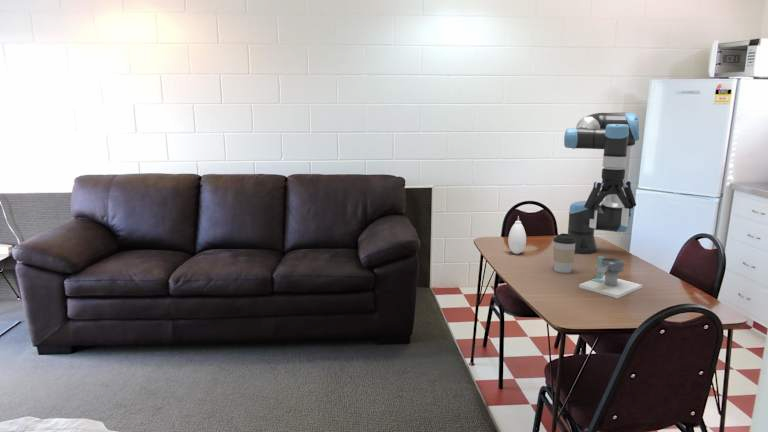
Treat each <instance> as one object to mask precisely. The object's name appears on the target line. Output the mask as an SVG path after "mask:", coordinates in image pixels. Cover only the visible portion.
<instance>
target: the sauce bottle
mask: <svg viewBox="0 0 768 432" xmlns="http://www.w3.org/2000/svg"><path fill="white" fill-rule="evenodd" d="M508 233H509V234H508V238H507V239H508V240H507V243H508V248H509V250H510V251H511V252H512V254H515V255H519V254H521V252H524V250H525V248H526V244H527V234H526V233H527V232H526V231H525V227H524V226H523V224H522V221H521V220H520V216H519V215H518V216H517V220H515V222H514V224H513V225H512V226H511V228H510V231H509V232H508Z"/></svg>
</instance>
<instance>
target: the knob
mask: <svg viewBox="0 0 768 432" xmlns="http://www.w3.org/2000/svg"><path fill="white" fill-rule="evenodd" d="M624 263H625V261H624V260H622V259H619V258H618V259H617V258H611V257H610V258H609V257H608V258H604V259H602V264H601V266H598V265H597V266H598V271H599V272H603V273H605V271H609V272H618V273H621V272H624V265H625V264H624Z"/></svg>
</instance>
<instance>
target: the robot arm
mask: <svg viewBox="0 0 768 432" xmlns="http://www.w3.org/2000/svg"><path fill="white" fill-rule="evenodd" d="M639 122H640V121H639V115H638V114H637V113H634V112H633V113H632V112H596V113H592V114H589V115H586V116H584V117H582V118H581V119H580V120H578V122H577V123H576V126H575V127H576V128H575V127H572V128H571V127H570V128H566V130H565V131H564V136H563V137H564V138H563V143H564V147H565V148H566V149H573V150H574V149H586V150H590V149H591V150H603V157H602V167H603V168H601V182H598V181H594V182H593V186H592V190H591V192H590V193H589V195H588V198H587V200H579V201H574V202H572V203H571V204H569V205H570V206H569V211H568V214H569V215H568V226H567V234H568V235H571V236H573V237H574V238H575V239H576V244H575V253H574V254H581V255H588V254H589V255H591V254H595V253H597V249H598V246H597V241H596V239H595V230H596V231H607V232H614V233H625V232H627V231H628V228H629V226H630V222H631V218H632V213H633V209H634V207H636V206H637V203H636V199H635V197H634V193H633V190H632V187H631V185H632V184H631V181H629V171H630V162H631V160H630V159H631V152H632V151H631V150H632V148H633V147H635V145H636V142H637V141H639V140H640V123H639Z"/></svg>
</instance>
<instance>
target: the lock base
mask: <svg viewBox="0 0 768 432" xmlns="http://www.w3.org/2000/svg"><path fill="white" fill-rule="evenodd" d="M602 259H605V256H603V255H599V256H598V257H597V267H596V268H597V269H596V277H595V278H592V279H590V280H587V281H585V282H582V283H580V284H579V283H578V285H579V286H578V288H580V289H584V290H587V291H590V292H594V293H597V294H599V295H600V294H601V295H604V296H608V297H610V298H614V299H619V298H621V297H624V296H627V295H628V294H631V293H633V292H635V291H638V290H641V289H642V288H643V284H640V283H636V282H632V281H629V280H625V279H623V278H622V279H621V278H619V272H609V271H605V272H599V271H598V266H601V264H602ZM604 273H605V274H604Z"/></svg>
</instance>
